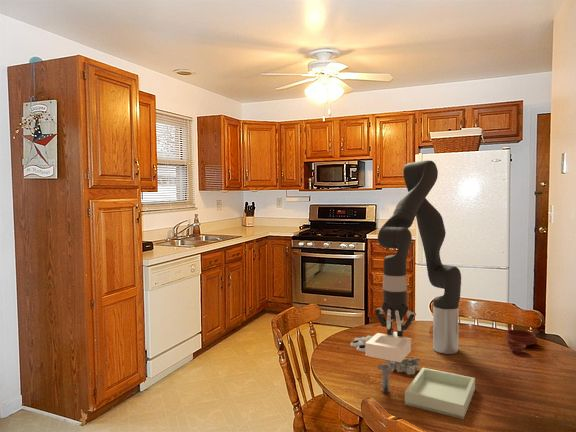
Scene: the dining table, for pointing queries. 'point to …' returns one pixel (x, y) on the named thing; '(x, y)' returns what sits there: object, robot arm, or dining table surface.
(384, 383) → the T-head stake
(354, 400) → the dining table surface
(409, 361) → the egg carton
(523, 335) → the pottery
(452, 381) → the tray
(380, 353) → the cream rectangular frame
